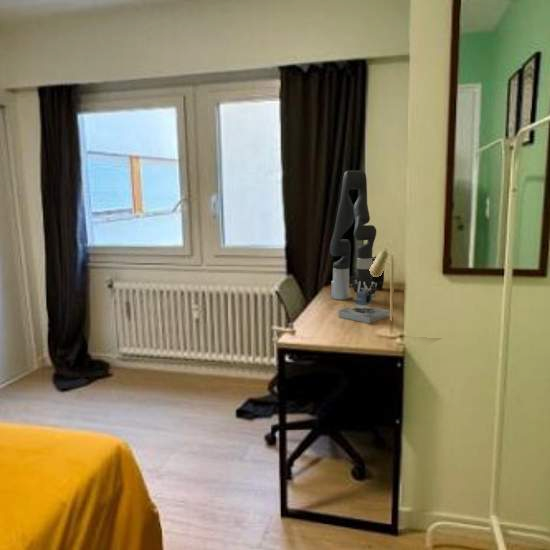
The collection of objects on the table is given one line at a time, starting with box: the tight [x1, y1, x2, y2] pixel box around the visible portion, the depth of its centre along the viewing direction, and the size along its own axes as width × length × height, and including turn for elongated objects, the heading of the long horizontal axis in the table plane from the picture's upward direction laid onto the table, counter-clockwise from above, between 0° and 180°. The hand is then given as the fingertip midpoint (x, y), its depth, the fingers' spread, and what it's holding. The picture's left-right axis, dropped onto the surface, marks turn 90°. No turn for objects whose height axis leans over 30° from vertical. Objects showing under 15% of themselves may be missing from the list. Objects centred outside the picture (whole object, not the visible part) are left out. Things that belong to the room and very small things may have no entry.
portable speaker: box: [371, 256, 385, 291], centre depth 302 cm, size 9×9×20 cm
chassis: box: [337, 304, 390, 324], centre depth 244 cm, size 18×17×3 cm
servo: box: [352, 289, 376, 306], centre depth 242 cm, size 4×13×7 cm, turn 136°
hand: (364, 301), depth 242 cm, fingers closed on servo, 4 cm apart
